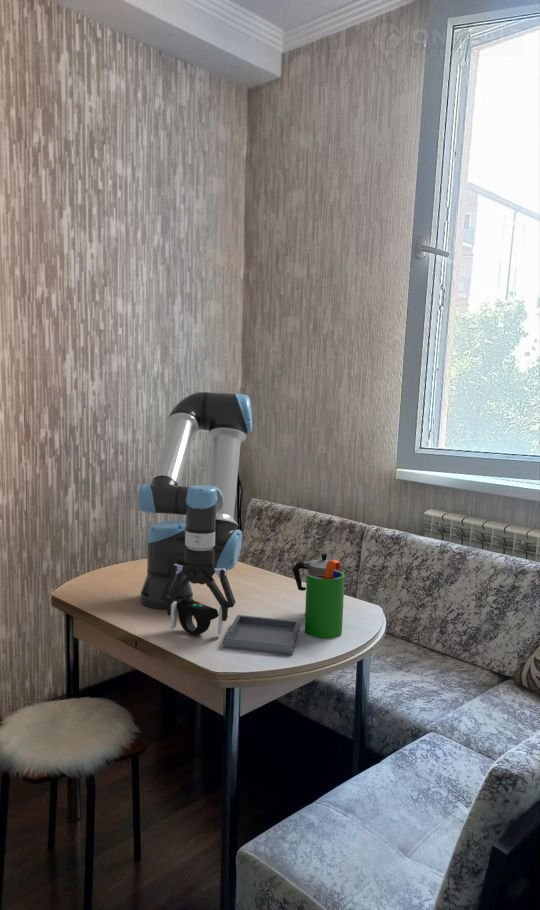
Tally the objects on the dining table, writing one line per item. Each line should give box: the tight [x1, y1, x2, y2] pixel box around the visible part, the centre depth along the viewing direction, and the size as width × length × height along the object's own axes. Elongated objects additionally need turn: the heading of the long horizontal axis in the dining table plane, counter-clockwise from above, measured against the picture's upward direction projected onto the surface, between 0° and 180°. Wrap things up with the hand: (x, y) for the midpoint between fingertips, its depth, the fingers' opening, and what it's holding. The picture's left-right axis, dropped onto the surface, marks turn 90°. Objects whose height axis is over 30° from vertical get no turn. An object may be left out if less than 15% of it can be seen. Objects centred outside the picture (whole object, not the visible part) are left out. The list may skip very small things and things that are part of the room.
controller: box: [177, 593, 219, 636], centre depth 176 cm, size 4×12×10 cm, turn 52°
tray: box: [223, 614, 301, 656], centre depth 176 cm, size 17×17×2 cm
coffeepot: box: [292, 553, 347, 592], centre depth 194 cm, size 15×9×18 cm, turn 101°
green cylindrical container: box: [304, 559, 346, 639], centre depth 181 cm, size 10×9×20 cm
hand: (196, 630), depth 176 cm, fingers closed on controller, 12 cm apart
